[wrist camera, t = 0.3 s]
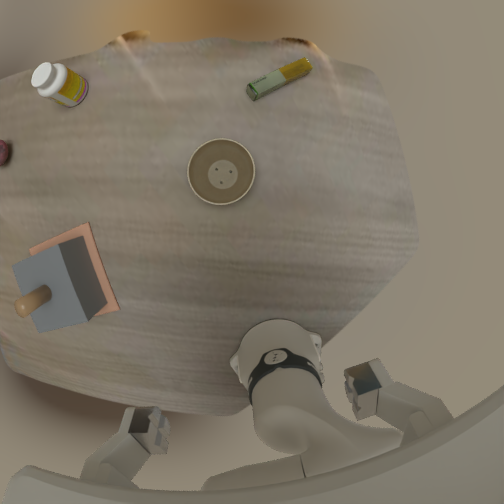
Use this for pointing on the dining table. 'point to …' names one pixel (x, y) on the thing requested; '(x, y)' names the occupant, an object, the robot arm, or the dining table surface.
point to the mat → (95, 258)
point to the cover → (59, 286)
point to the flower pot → (221, 171)
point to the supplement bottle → (59, 84)
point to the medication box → (278, 78)
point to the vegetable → (3, 152)
